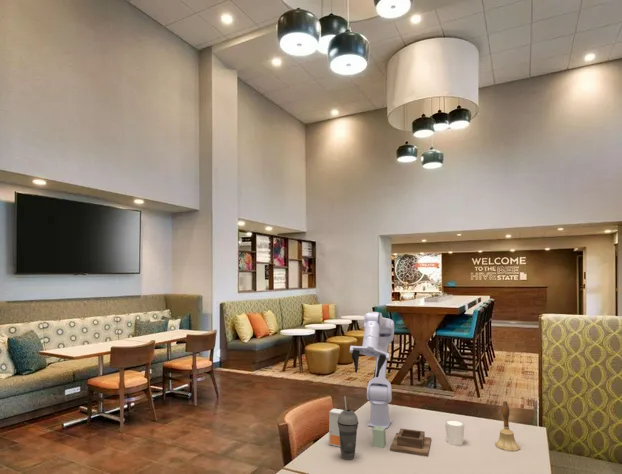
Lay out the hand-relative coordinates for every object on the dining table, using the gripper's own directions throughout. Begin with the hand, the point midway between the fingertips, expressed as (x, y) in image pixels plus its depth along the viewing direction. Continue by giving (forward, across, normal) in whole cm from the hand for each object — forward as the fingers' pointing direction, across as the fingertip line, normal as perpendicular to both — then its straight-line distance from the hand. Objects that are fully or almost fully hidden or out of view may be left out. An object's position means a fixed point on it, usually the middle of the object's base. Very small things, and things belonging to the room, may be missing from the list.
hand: (366, 373), depth 150 cm
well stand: (+14, +21, +20) cm, 32 cm away
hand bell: (+8, +55, +18) cm, 59 cm away
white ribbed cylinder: (+9, +38, +22) cm, 44 cm away
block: (+16, +10, +20) cm, 28 cm away
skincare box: (+19, -5, +21) cm, 29 cm away
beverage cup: (+25, -2, +13) cm, 28 cm away
